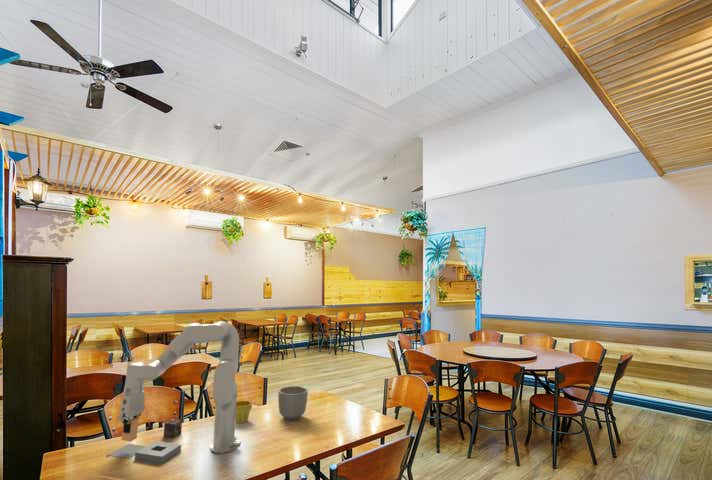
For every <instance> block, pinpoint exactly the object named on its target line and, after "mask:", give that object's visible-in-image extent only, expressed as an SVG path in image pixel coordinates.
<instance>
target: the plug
mask: <svg viewBox="0 0 712 480" xmlns="http://www.w3.org/2000/svg"><path fill="white" fill-rule="evenodd" d="M127 419H128V418H126V420H127ZM139 420H140V417H139V418H133V417H131V419H130V423H129V424H130V433H123V430H122V432H121V438H120V439H121V440H120V441H126V442H133V441H135V440H136V439H137V437H138V430H139V429H138V427H139ZM123 428H124V424H123V423H122V429H123Z"/></svg>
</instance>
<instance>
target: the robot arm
mask: <svg viewBox="0 0 712 480" xmlns="http://www.w3.org/2000/svg"><path fill="white" fill-rule="evenodd" d="M239 339H240V337H239V333H238V331H237V329H236V328H235V326H234V325H233V324H232V323H229V322H227V321H224V320H220V321H217V322H215V323H211V324H202V323H200V322H193V323H191V324H188V325H186V326H185V327H184V328H183V330H182V332H181V333H180V334H178V336H176V338H174V339H173V340H171V341H170V343H169V344H168V347H166V349H165V350H164V352H162V353H161V354H160V355H159V356H158V357H157V358H156V359H155V360H154V361H152V362H149V363H147V364H145V363H144V362H142V361H140V362H139V361H137V362H131V363H129V364H128V365H127V366H126V374H125V375H126V376H125V383H124V384H125V386H124V390H123V393H124V394H123V396H122V400H121V405H120V411H119V412H120V413H119V417H118V421H119V422H121V423H122V425H123V424H124V428H123V427H122V431H123V433H130V424H129V423H130V419H131V417H133V418H139V419H140V416H141V415H142V414H143V413H144V411H145V406H146V404H145V403H146V395H145V391H144V384H145V381H148V382H150V381H154V380H156V379H157V378H159V377H160V376H162V375H163V374H164V373H165V372H166V371H167V370H169V368H170V367H172V365H174V364H175V363H176V362H177V361H178V360H179V359H180V358H182V357H184V355H185V354H186V353H187V352H188V351H189V350H190V349H191V348H192V347H194V346H195V345H196V344H203V343H204V344H205V343H206V344H207V343H210V344H211V343H218V342H221V344H220V345H221V346H220V355H219V356H220V357H219V361H218V364H217V365H216V367H215V370H214V373H213V385H212V401H213V402H214V404H215V411H214V412H215V414H214V426H213V427H214V428H213V429H214V430H213V440H212V441H213V442H212V443H210V445H209V451H211V452H212V453H214V454H225V453H230V452H232V451H234V450H236V449H237V447H238V448H240V447H241V443H242V440H240V439H239V440H238V439H237V436H236V435H235V433H236V432H235V430H236V421H235V417H236V402H237V399H238V391H239V387H238V384H237V382H236V374H237V373H238V369H239V348H240V347H239V346H240V340H239ZM126 418H128V419H127V420H126Z"/></svg>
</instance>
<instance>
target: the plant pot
mask: <svg viewBox="0 0 712 480" xmlns="http://www.w3.org/2000/svg"><path fill="white" fill-rule="evenodd" d="M252 406H253V402H251V401H250V400H238V401H237V402H236V417H235V423H237V424H243V423H247V422H248V420H249V416H250V413H251V410H252Z"/></svg>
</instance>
